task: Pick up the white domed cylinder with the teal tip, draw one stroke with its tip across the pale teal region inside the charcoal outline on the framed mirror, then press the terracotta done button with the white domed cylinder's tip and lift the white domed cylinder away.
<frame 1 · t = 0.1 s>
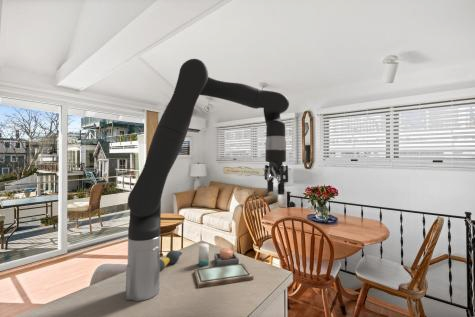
hand: (275, 193, 86), 29 cm above the counter, fingers open, 8 cm apart
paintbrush: (163, 269, 88), on the counter
framed mirror: (222, 275, 83), on the counter
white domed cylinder: (203, 264, 92), on the counter
button housing: (226, 262, 94), on the counter
done button: (226, 254, 94), point 3 cm above the counter, slide at 0.0 cm
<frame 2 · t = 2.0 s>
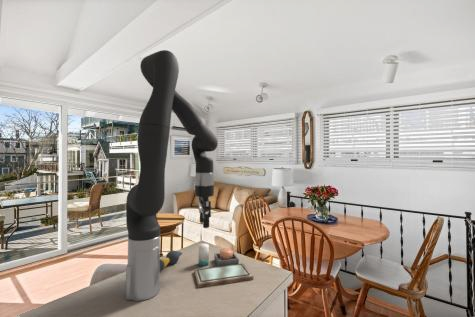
hand: (204, 224, 93), 15 cm above the counter, fingers open, 8 cm apart
nothing on the counter moved.
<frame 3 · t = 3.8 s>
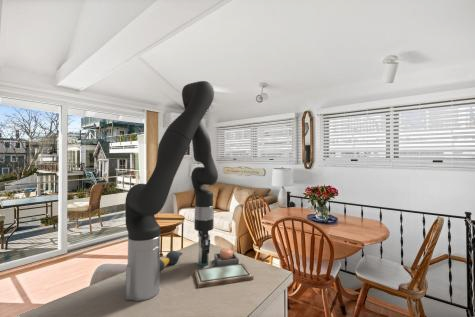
hand: (203, 260, 92), 1 cm above the counter, fingers closed on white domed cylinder, 4 cm apart
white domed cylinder: (203, 264, 92), on the counter, touching gripper
everything else where it was.
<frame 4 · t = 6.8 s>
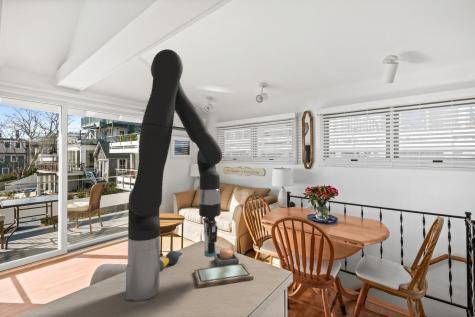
hand: (210, 250, 82), 9 cm above the counter, fingers closed on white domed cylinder, 4 cm apart
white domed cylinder: (210, 254, 82), point 8 cm above the counter, touching gripper
everything else where it was.
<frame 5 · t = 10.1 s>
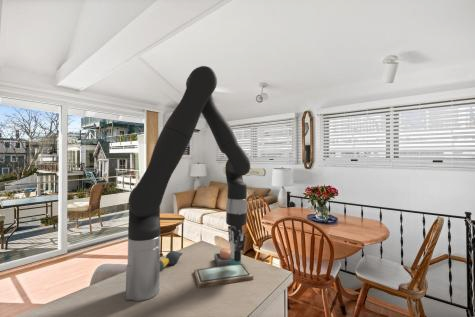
hand: (235, 258, 84), 6 cm above the counter, fingers closed on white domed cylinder, 4 cm apart
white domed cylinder: (235, 262, 84), point 4 cm above the counter, touching gripper
everything else where it was.
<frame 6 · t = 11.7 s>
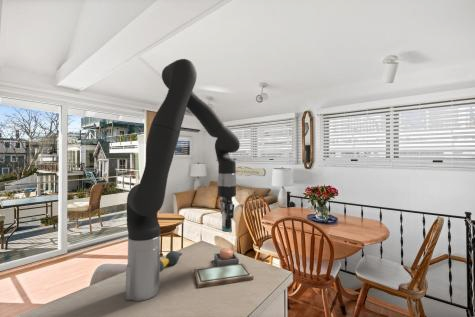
hand: (226, 226, 94), 14 cm above the counter, fingers closed on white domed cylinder, 4 cm apart
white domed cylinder: (226, 230, 94), point 13 cm above the counter, touching gripper
everything else where it was.
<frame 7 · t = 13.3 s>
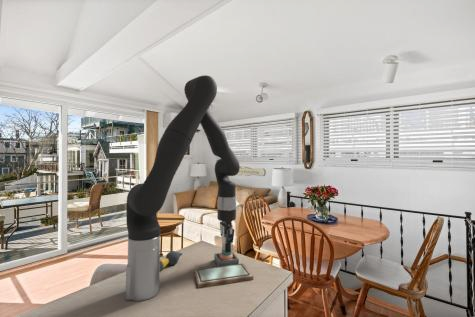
hand: (226, 250, 94), 5 cm above the counter, fingers closed on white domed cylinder, 4 cm apart
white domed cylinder: (226, 253, 94), point 3 cm above the counter, touching done button, gripper
done button: (226, 257, 94), point 2 cm above the counter, slide at 1.1 cm, touching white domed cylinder
everything else where it was.
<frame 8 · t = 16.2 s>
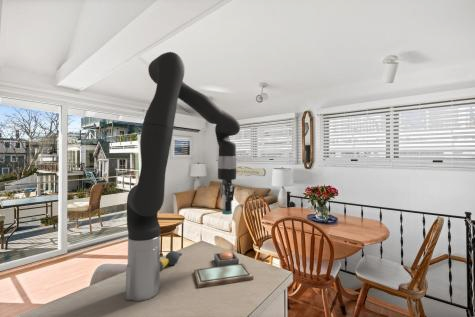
hand: (226, 209, 94), 21 cm above the counter, fingers closed on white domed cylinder, 4 cm apart
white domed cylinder: (227, 213, 94), point 20 cm above the counter, touching gripper
done button: (226, 257, 94), point 2 cm above the counter, slide at 1.1 cm
everything else where it was.
at the end: done button slide at 1.1 cm; the gripper is holding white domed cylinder; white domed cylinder point 19.7 cm above the counter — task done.
